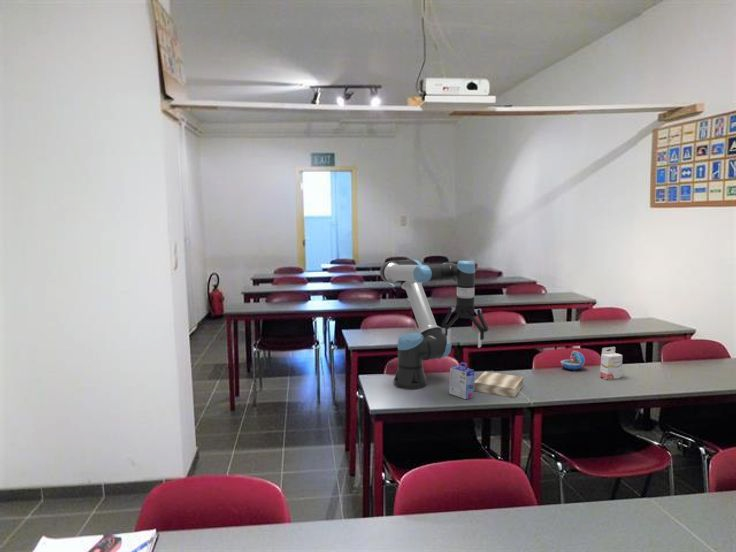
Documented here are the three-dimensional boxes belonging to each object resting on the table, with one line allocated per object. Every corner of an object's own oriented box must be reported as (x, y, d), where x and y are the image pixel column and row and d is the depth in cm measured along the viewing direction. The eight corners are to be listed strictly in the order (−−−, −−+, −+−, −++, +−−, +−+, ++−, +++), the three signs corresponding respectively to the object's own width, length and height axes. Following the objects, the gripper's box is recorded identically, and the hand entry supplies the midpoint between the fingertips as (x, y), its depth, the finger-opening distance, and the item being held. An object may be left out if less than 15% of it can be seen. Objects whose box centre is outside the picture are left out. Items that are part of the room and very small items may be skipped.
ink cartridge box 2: (607, 380, 233) (609, 350, 232) (599, 377, 238) (601, 347, 236) (621, 378, 236) (623, 348, 234) (613, 375, 241) (615, 346, 239)
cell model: (556, 366, 255) (557, 349, 254) (578, 366, 256) (578, 348, 255) (566, 372, 245) (566, 354, 244) (588, 371, 247) (589, 353, 246)
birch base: (473, 390, 220) (473, 382, 220) (484, 379, 236) (484, 371, 235) (514, 397, 211) (514, 388, 211) (523, 385, 227) (523, 377, 227)
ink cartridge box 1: (474, 397, 212) (475, 364, 211) (466, 400, 209) (466, 367, 207) (457, 391, 220) (457, 359, 219) (448, 393, 217) (449, 361, 215)
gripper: (434, 295, 212) (433, 343, 215) (492, 300, 201) (490, 350, 204) (440, 293, 219) (439, 339, 221) (496, 297, 208) (494, 346, 210)
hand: (464, 344), depth 213 cm, fingers open, 13 cm apart
